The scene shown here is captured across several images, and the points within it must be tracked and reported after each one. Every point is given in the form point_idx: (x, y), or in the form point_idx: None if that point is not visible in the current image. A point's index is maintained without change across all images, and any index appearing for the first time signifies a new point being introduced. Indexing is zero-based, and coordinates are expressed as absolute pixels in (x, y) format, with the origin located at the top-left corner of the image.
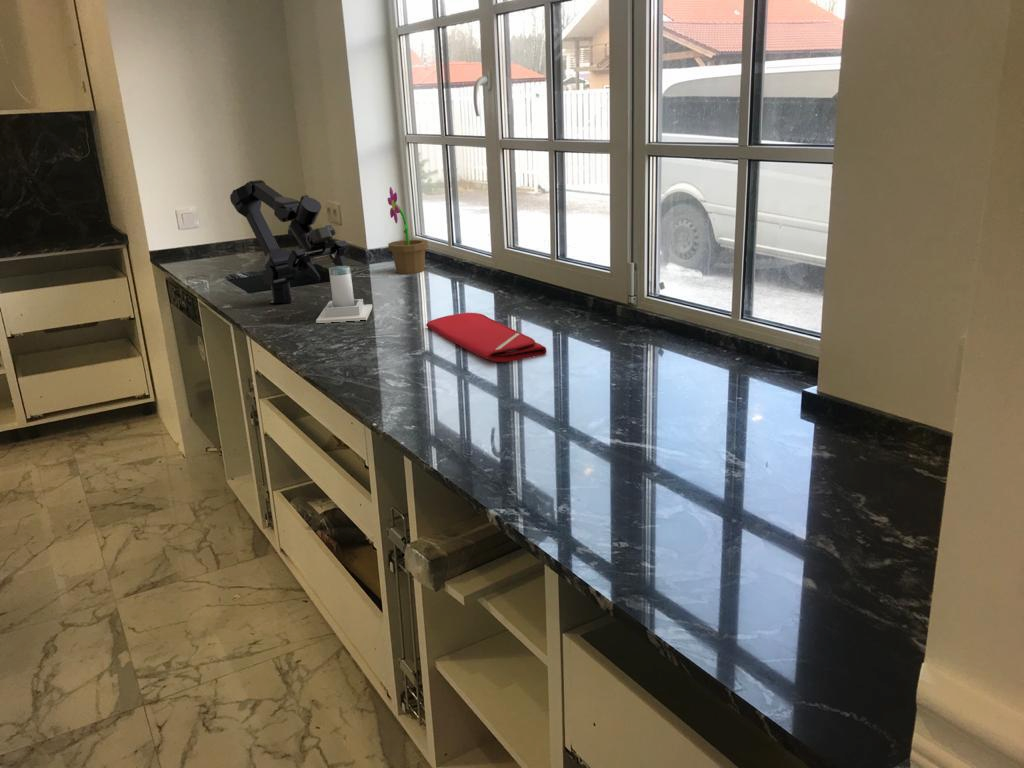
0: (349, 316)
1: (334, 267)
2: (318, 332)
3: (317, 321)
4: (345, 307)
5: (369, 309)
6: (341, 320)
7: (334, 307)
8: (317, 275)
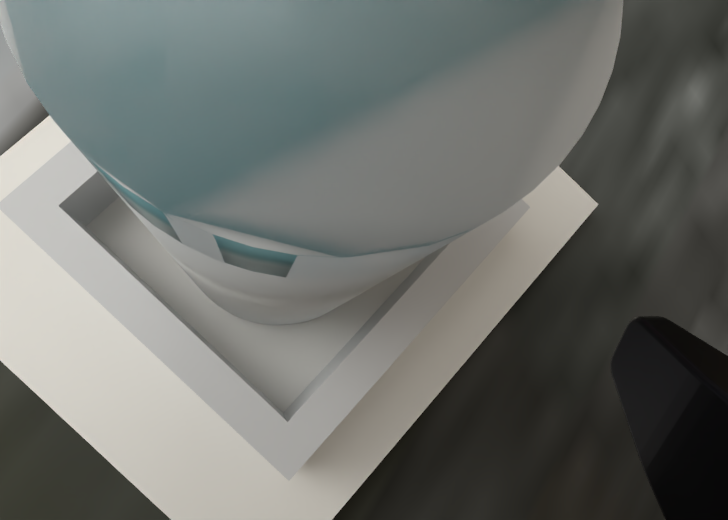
0: None
1: (380, 130)
2: (685, 4)
3: (584, 198)
4: None
5: None
6: None
7: None
8: (716, 352)
